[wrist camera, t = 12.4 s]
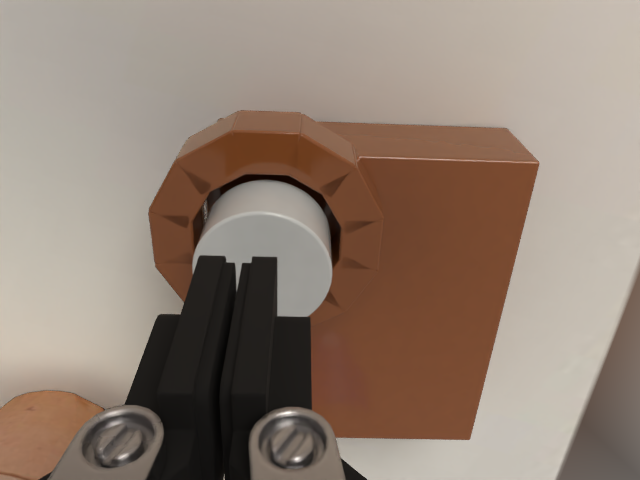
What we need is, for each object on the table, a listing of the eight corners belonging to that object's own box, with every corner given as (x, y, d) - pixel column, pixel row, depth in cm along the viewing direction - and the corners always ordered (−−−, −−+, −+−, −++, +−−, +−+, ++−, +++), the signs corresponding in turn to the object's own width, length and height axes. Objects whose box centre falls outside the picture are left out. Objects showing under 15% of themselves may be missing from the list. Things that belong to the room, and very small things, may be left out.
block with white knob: (178, 78, 18) (136, 126, 14) (515, 91, 19) (577, 142, 14) (203, 378, 25) (180, 475, 20) (453, 383, 25) (482, 479, 21)
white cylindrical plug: (200, 176, 15) (185, 210, 13) (333, 180, 15) (336, 214, 13) (208, 286, 17) (196, 329, 15) (327, 289, 17) (329, 332, 15)
